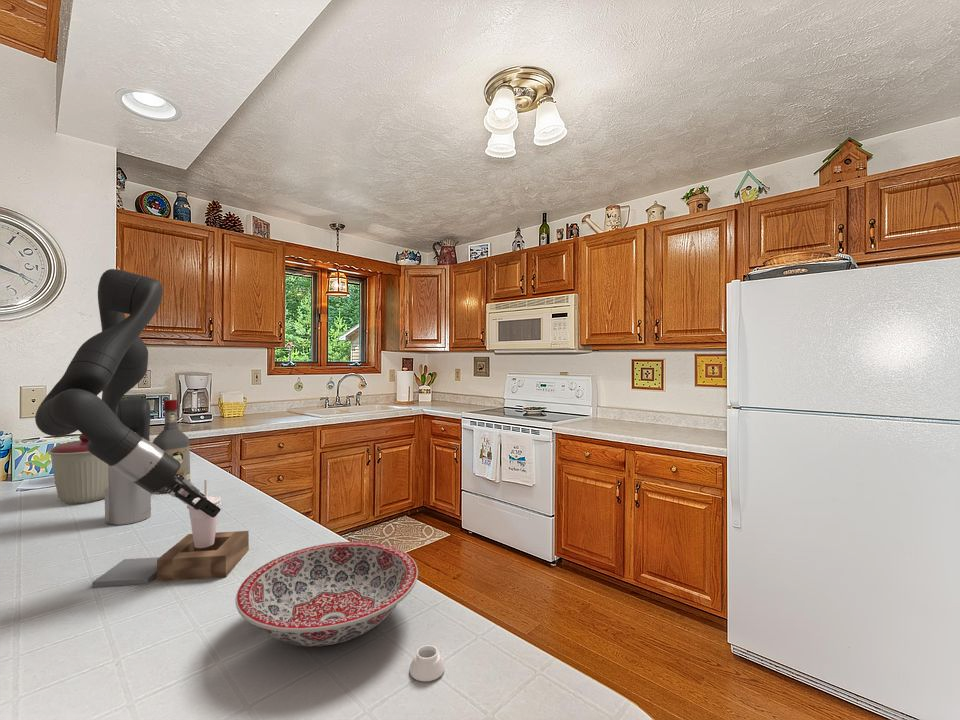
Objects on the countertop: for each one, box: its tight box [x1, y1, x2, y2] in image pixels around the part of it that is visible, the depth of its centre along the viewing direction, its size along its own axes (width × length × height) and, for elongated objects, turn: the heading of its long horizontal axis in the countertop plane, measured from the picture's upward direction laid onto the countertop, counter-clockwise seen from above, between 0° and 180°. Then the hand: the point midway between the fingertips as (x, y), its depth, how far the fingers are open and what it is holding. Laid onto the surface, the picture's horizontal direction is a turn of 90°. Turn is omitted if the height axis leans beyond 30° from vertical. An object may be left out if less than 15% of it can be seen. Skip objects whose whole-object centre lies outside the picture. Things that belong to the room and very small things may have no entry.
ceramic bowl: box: [234, 541, 419, 647], centre depth 78 cm, size 29×29×8 cm
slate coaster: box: [91, 556, 161, 588], centre depth 96 cm, size 10×10×1 cm
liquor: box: [152, 399, 191, 494], centre depth 154 cm, size 9×9×30 cm
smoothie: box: [186, 479, 222, 548], centre depth 99 cm, size 6×6×14 cm
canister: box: [46, 433, 109, 505], centre depth 144 cm, size 18×18×21 cm
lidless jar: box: [409, 644, 446, 682], centre depth 67 cm, size 5×3×5 cm
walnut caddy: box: [156, 530, 250, 582], centre depth 100 cm, size 13×13×4 cm
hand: (212, 509), depth 101 cm, fingers closed on smoothie, 6 cm apart
